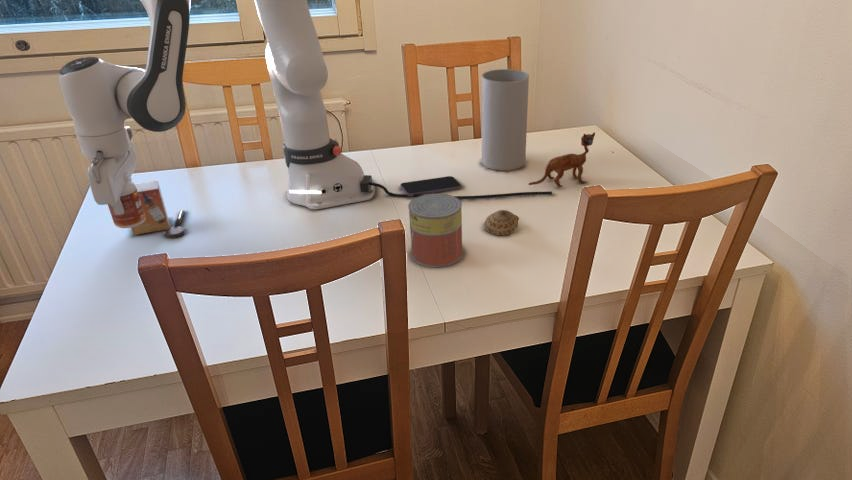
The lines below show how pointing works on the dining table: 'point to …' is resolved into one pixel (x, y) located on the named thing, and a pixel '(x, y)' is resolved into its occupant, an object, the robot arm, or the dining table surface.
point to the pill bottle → (129, 207)
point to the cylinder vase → (504, 118)
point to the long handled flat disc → (176, 227)
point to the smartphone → (430, 185)
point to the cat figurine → (567, 163)
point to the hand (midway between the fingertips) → (125, 205)
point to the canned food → (436, 229)
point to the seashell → (501, 223)
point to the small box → (151, 208)
